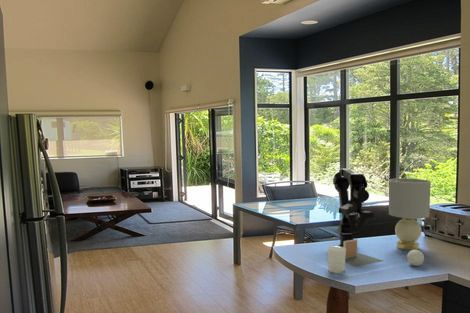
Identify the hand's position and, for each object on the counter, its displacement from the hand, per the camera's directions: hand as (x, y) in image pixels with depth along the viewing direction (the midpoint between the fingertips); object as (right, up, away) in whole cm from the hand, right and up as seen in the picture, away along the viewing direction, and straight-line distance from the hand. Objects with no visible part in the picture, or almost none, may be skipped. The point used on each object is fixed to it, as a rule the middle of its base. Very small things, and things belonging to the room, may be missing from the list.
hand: (355, 229), depth 239 cm
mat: (-2, -13, -12) cm, 18 cm away
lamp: (+31, -12, +13) cm, 36 cm away
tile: (-4, -12, -8) cm, 15 cm away
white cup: (-15, -14, -28) cm, 35 cm away
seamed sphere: (+21, -14, -19) cm, 32 cm away
